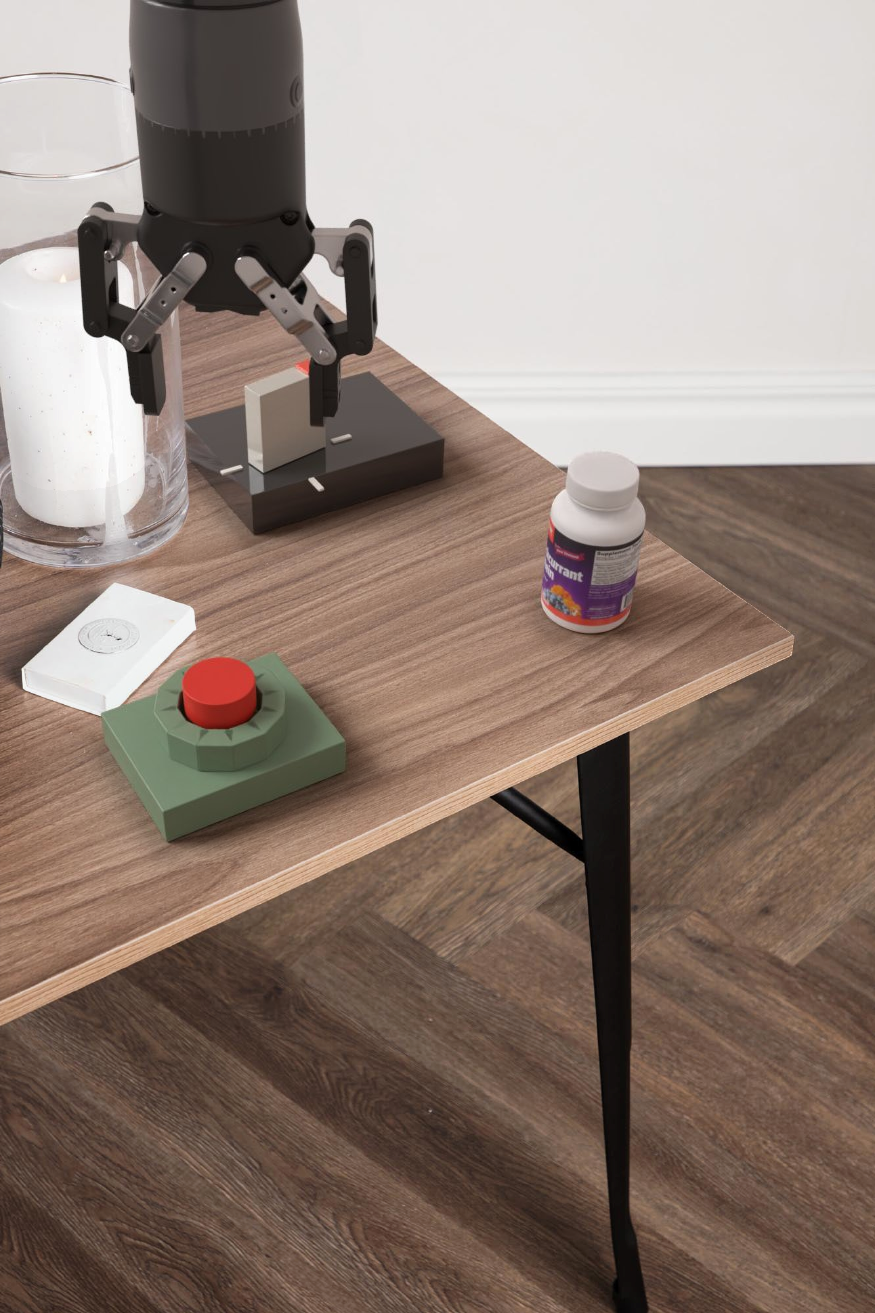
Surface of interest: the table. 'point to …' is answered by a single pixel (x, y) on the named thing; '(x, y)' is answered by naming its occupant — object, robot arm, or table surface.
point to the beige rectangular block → (280, 419)
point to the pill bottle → (594, 544)
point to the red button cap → (219, 693)
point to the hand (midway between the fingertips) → (237, 413)
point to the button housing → (222, 751)
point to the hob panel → (320, 458)
